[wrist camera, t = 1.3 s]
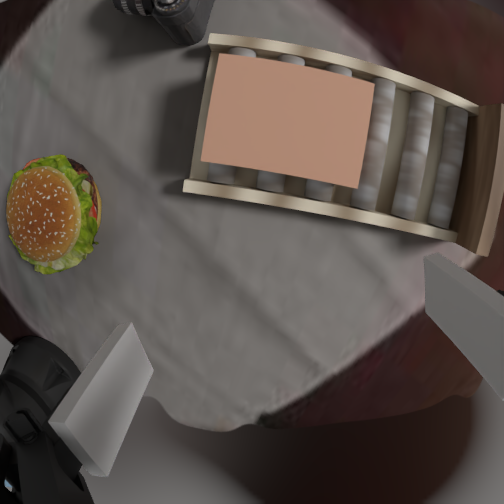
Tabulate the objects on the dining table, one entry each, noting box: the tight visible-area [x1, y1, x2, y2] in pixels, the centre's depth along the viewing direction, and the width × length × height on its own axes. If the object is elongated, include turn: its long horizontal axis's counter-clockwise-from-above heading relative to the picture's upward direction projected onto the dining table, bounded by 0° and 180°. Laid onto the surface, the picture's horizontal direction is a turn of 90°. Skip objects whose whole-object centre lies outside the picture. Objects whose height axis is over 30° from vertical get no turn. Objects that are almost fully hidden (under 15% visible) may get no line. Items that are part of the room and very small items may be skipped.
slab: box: [201, 53, 375, 189], centre depth 28 cm, size 14×10×4 cm
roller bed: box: [183, 33, 504, 257], centre depth 29 cm, size 33×17×8 cm, turn 81°
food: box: [6, 155, 101, 274], centre depth 32 cm, size 14×14×8 cm
